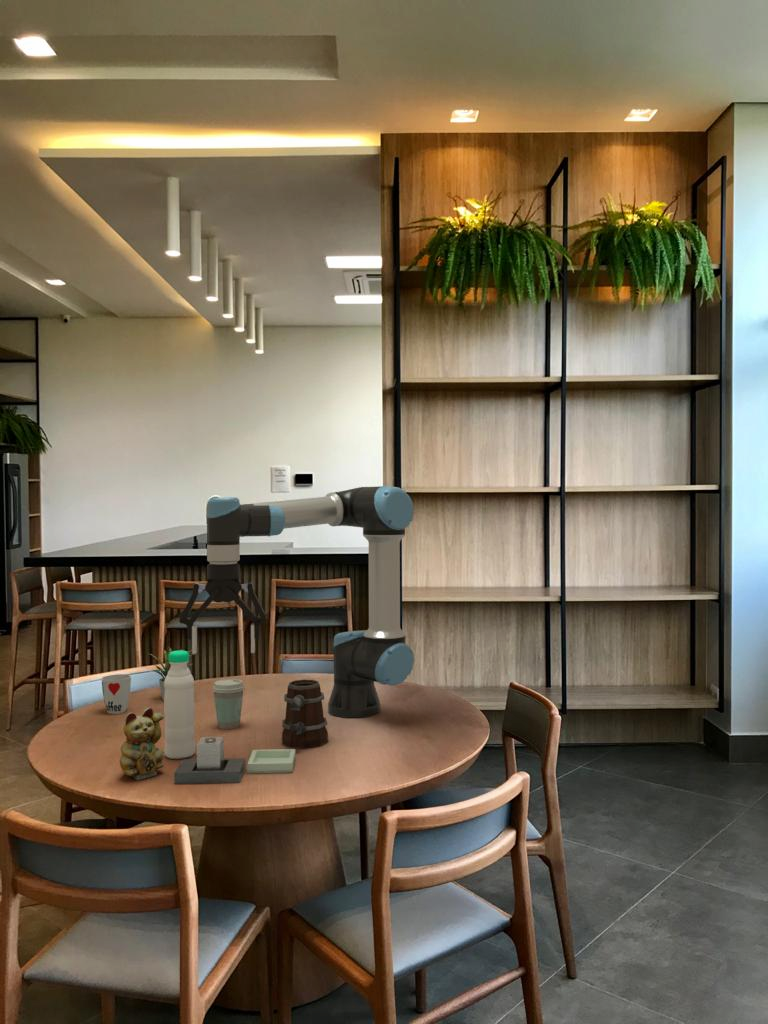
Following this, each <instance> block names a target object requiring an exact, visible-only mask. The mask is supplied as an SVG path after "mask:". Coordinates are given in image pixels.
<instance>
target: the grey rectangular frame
mask: <svg viewBox="0 0 768 1024" xmlns="http://www.w3.org/2000/svg"><path fill="white" fill-rule="evenodd" d="M245 770H246V758H245V757H239V758H237V757H234V758H233V757H232V758H231V757H230V758H225V757H224V770H219V771H197V758H192V759H191V758H184V759H181V762H180V764H179V765H178V767H177V769H175V771H174V773H173V774H174V777H173V779H174V785H183V784H184V785H187V784H189V785H191V784H233V783H234V784H235V783H237V784H238V783H239V784H240V783H241V780H242V777H243V775H244V773H245Z"/></svg>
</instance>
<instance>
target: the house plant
mask: <svg viewBox="0 0 768 1024" xmlns="http://www.w3.org/2000/svg"><path fill="white" fill-rule="evenodd" d="M168 648H169V649H168ZM168 648H166V649H164V650H163V655H164V664H163V662H162V661H161V660H160V659H159V658H158V657H157V656H155V655H153V654H152V653H149V655H151V656H152V657H154V659H156V660H157V662H158V663H159V664H160V666H161V667H162V668H161V667H160V666H158V665H155V664H154V667H155V668H156V669H153V670H152V672H154V673H157V674H158V675H160V676H161V678H159V679H158V682H159V687H160V692H161V693H160V694H161V699H162V701H163V702H164V695H165V687H164V681H165V678H166V676H167V674H168V671H169V669H170V667H171V664H170V663H169V653H170V652H172V651H173V650H172V648H171V647H170V646H168ZM166 650H167V651H166ZM179 651H184V649H183V648H181V649H180V650H179ZM187 652H188V653H189V654H190V652H192V649H191V650H187ZM190 666H192V663H191V664H187V667H188V668H189V669H191V667H190Z"/></svg>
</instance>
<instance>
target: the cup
mask: <svg viewBox="0 0 768 1024" xmlns="http://www.w3.org/2000/svg"><path fill="white" fill-rule="evenodd" d="M131 682H132V675H130V674H123V673H122V674H121V673H120V674H119V673H118V674H109V675H105V676H103V677H101V686H102V687H101V688H102V689H101V690H102V695H103V696H102V697H103V702H104V706H105V709H106V712H107V713H108V714H113V715H117V714H124V713H125V712H126V711H127V708H128V705H129V702H130V695H131V688H132V687H131V684H132V683H131Z"/></svg>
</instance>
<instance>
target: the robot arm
mask: <svg viewBox="0 0 768 1024" xmlns="http://www.w3.org/2000/svg"><path fill="white" fill-rule="evenodd" d="M240 502H241V501H240V499H239V498H238V497H232V496H231V497H229V496H228V497H227V496H225V497H220V496H219V497H217V496H216V497H210V498H209V499H208V500H207V506H206V515H205V516H206V527H207V528H206V534H207V535H206V536H207V537H206V538H207V539H206V540H207V542H206V557H207V558H206V561H207V562H209V563H208V564H207V566H206V571H207V572H206V577H207V578H206V579H207V580H206V584H204V583H199V582H196V583H194V585H193V587H192V594H191V596H190V598H189V600H188V602H187V604H186V606H185V607H184V610H183V612H182V614H181V616H180V618H179V619H178V620H179V621H178V622H179V623H180V624H183V625H186V629H187V630H186V631H187V632H186V633H187V634H186V635H187V640H191V650H192V651H191V655H196V654H197V652H198V624H194V623H195V622H196V621H197V619H199V617H200V616H201V615H202V614H203V613H204V612H205V610H206V609H207V607H208V606H209V605H211V603H212V602H215V603H219V604H220V603H223V602H224V603H232V602H234V603H235V604H236V605H238V607H239V608H240V609H241V611H242V612H243V613H244V614H245V615H246V616H247V617H248V618H249V619H250V620H251V622H252V623H251V624H250V654H255V652H256V639H259V638H260V635H261V632H260V631H261V629H260V626H261V624H263V623H266V622H267V620H268V616H267V614H266V612H265V610H264V608H263V606H262V604H261V602H260V600H259V598H258V596H257V594H256V593H255V589H254V587H255V586H254V583H253V582H248V583H241V578H240V577H241V573H240V571H241V569H240V567H241V565H240V564H239V563H238V562H239V561H240V559H241V558H240V556H241V555H240V554H241V553H240V551H241V550H240V548H241V547H240V545H241V543H240V540H241V538H243V537H272V536H279V535H280V534H282V532H283V531H284V529H292V528H301V527H303V528H304V527H311V526H318V525H329V526H331V527H342V526H343V527H354V528H362V536H363V537H364V538H365V539H366V540H367V541H368V542H367V543H368V628H367V630H366V629H364V630H363V629H362V630H353V631H344V632H339V633H338V632H337V634H335V635H334V637H333V644H332V645H333V646H332V649H333V651H332V652H333V686H332V689H331V694H330V697H329V699H328V703H327V712H328V713H329V714H330V715H331V716H332V715H333V716H336V717H340V718H366V717H370V716H375V715H377V714H379V713H380V712H381V701H380V698H379V694H378V692H377V688H376V685H375V682H376V683H377V684H380V685H388V686H397V685H400V684H402V683H404V682H405V681H406V680H407V679H408V676H410V674H412V671H413V668H414V664H415V654H414V652H413V650H412V648H411V646H409V645H408V644H407V643H406V633H405V631H404V630H402V628H401V590H400V589H401V587H400V586H401V581H400V580H401V579H400V577H401V571H400V569H401V567H400V566H401V562H400V557H401V554H400V553H401V551H400V550H401V549H400V548H401V547H400V546H401V545H400V544H401V540H402V539H403V538H404V537H405V536H406V528H408V527H409V525H410V524H411V522H412V521H413V518H414V513H415V512H414V510H415V509H414V505H413V504H414V503H413V501H412V499H411V497H410V496H409V494H407V492H406V491H405V490H404V489H403V488H400V487H399V486H398V487H397V486H391V485H390V486H389V485H383V486H381V485H380V486H359V487H355V488H350V489H347V490H341V491H335V492H328V493H326V495H325V496H321V497H320V496H317V497H309V498H307V497H306V498H298V499H286V500H275V501H264V502H256V503H254V502H253V503H244V504H241V503H240ZM204 590H205V591H206V592H207V594H208V595H209V596H208V597H207V598H206V599H205V601H204V602H203V603H202V604H201V605H200V607H199V608H198V609H197V610H196V611H195V612H194V614H193V615H192V616H191V617H190V618H188V616H189V615H190V613H191V611H192V608H193V606H194V605H195V603H196V601H197V599H198V597H199V594H201V593H202V592H203V591H204ZM241 590H244V592H245V593H248V596H249V598H250V600H251V602H252V604H253V606H254V608H255V609H256V612H257V614H258V616H259V617H258V616H257V614H255V612H253V610H252V609H251V608H250V607H249V606H248V604H247V603H246V602H245V601H244V600H243V599H242V597H241V596H240V595H239V593H240V592H241Z"/></svg>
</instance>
